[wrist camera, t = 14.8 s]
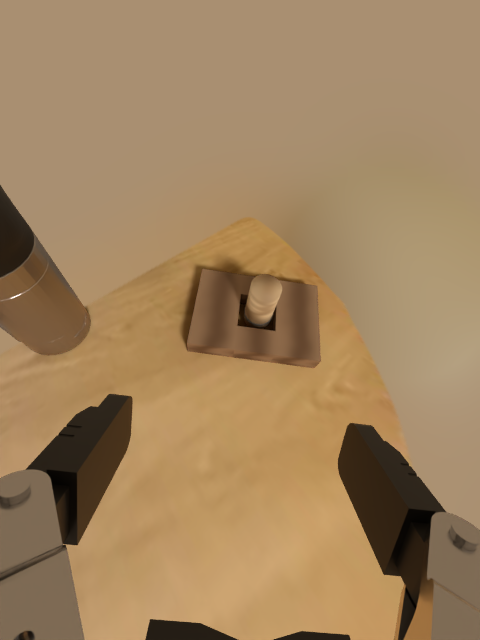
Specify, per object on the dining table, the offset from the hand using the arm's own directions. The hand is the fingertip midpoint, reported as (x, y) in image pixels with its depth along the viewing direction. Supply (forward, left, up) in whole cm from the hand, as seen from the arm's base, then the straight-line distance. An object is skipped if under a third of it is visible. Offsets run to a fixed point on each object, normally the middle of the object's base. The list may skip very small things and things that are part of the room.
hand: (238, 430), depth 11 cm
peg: (+4, +22, -31) cm, 38 cm away
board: (+4, +22, -31) cm, 38 cm away
